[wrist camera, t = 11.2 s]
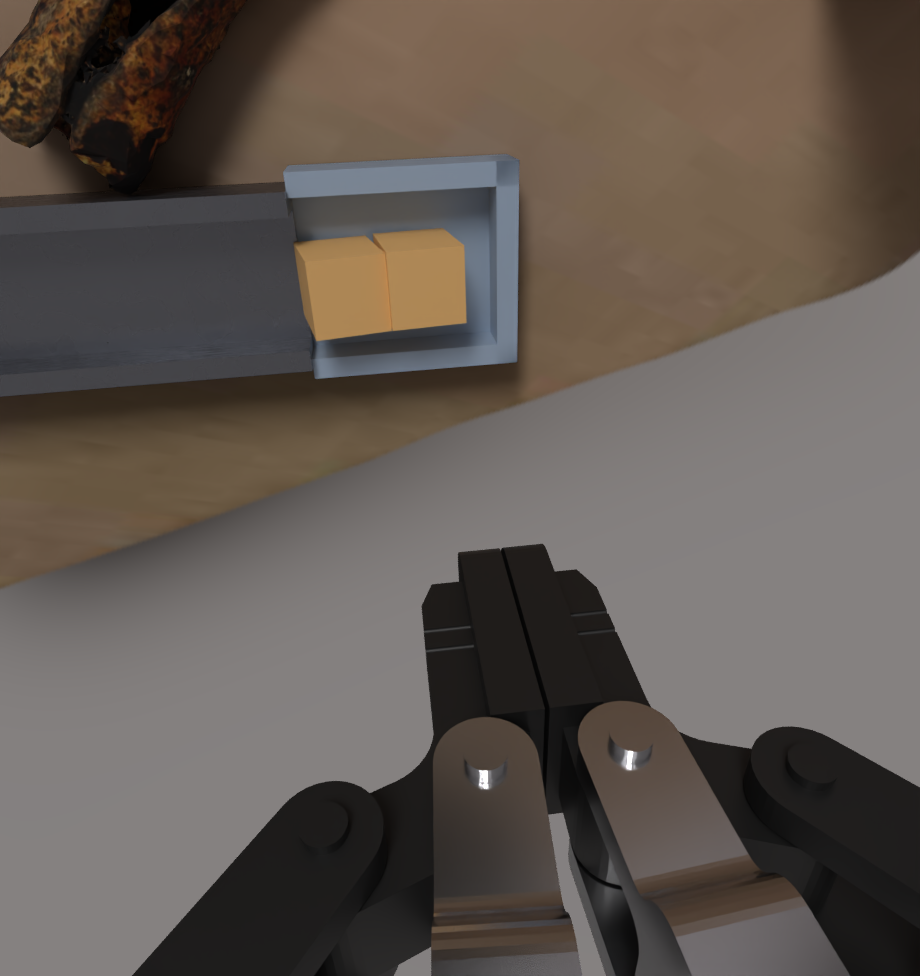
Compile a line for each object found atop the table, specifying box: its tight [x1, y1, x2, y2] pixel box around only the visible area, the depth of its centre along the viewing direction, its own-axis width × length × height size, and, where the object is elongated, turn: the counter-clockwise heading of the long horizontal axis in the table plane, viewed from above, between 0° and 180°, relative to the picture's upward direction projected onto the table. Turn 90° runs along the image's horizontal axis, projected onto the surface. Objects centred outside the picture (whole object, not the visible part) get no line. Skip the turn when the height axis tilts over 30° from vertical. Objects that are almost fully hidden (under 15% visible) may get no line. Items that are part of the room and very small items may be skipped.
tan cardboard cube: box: [293, 235, 392, 341], centre depth 37 cm, size 4×4×5 cm
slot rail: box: [0, 182, 314, 397], centre depth 37 cm, size 23×9×4 cm, turn 92°
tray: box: [283, 154, 519, 379], centre depth 39 cm, size 12×11×3 cm
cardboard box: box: [373, 228, 466, 331], centre depth 37 cm, size 4×4×5 cm
